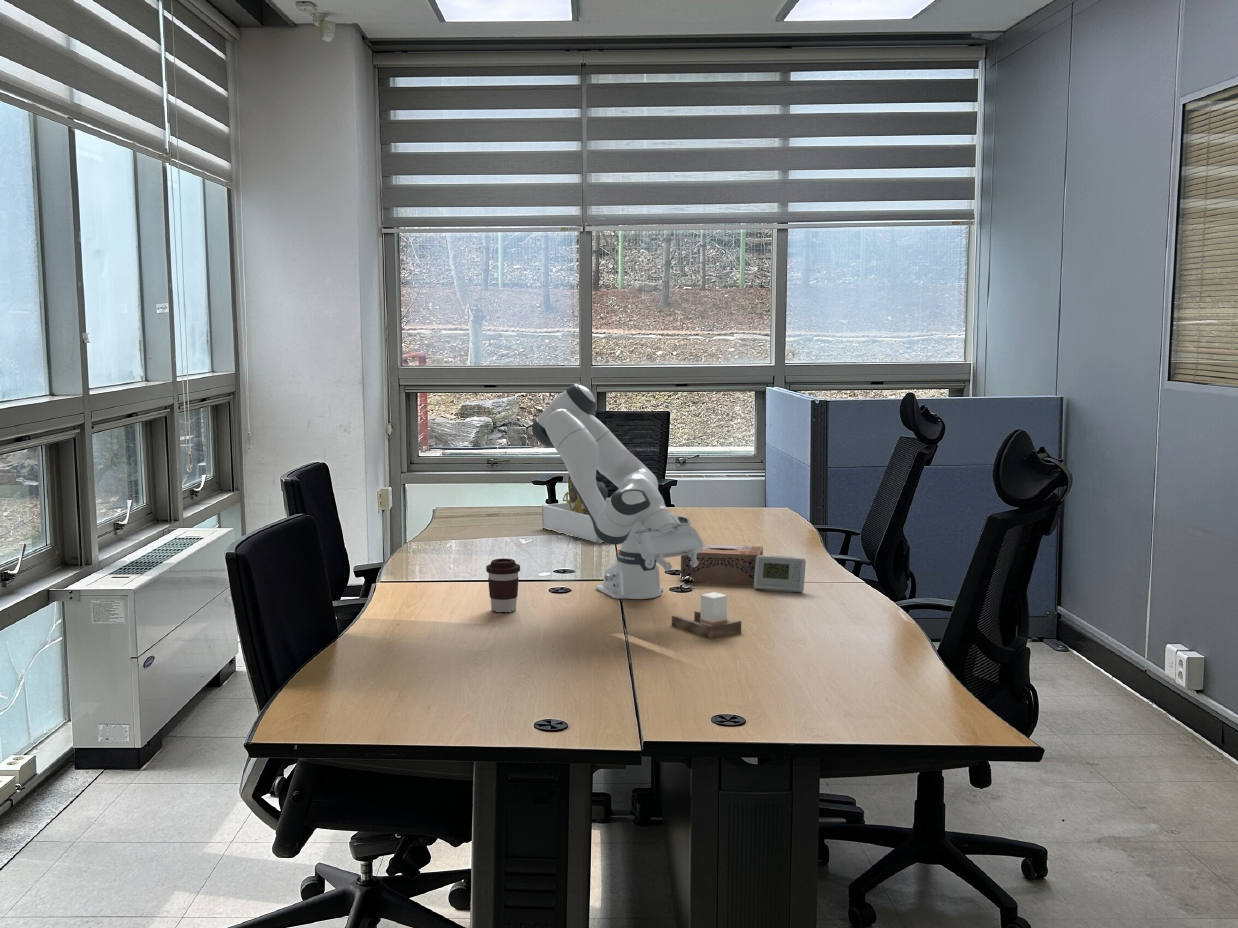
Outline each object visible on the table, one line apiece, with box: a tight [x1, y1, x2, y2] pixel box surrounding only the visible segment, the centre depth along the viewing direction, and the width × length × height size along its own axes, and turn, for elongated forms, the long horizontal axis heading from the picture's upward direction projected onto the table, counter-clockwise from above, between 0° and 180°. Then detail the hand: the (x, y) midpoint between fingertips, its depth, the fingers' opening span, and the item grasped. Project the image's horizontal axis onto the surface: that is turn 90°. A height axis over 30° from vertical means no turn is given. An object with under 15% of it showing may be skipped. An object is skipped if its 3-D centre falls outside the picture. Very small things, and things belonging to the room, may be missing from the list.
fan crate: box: [541, 497, 610, 544], centre depth 447 cm, size 40×34×10 cm
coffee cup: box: [485, 557, 521, 613], centre depth 319 cm, size 10×10×15 cm
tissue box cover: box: [680, 543, 764, 585], centre depth 363 cm, size 26×14×10 cm, turn 78°
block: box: [700, 591, 728, 626], centre depth 292 cm, size 6×5×10 cm
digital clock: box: [753, 554, 806, 593], centre depth 345 cm, size 16×9×11 cm, turn 60°
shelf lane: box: [669, 610, 742, 640], centre depth 295 cm, size 17×11×4 cm, turn 37°
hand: (682, 567), depth 300 cm, fingers open, 8 cm apart
